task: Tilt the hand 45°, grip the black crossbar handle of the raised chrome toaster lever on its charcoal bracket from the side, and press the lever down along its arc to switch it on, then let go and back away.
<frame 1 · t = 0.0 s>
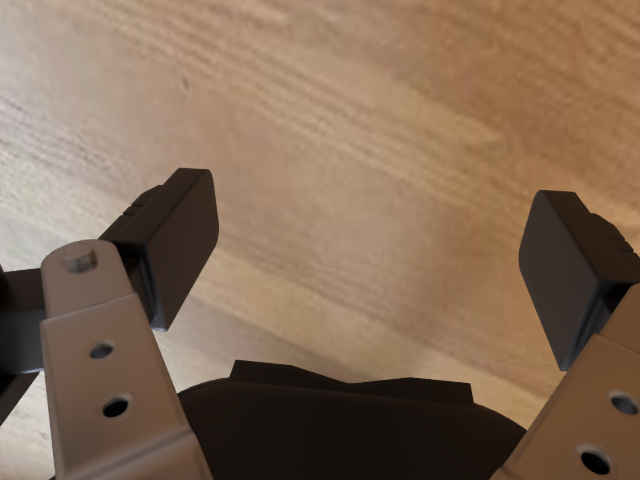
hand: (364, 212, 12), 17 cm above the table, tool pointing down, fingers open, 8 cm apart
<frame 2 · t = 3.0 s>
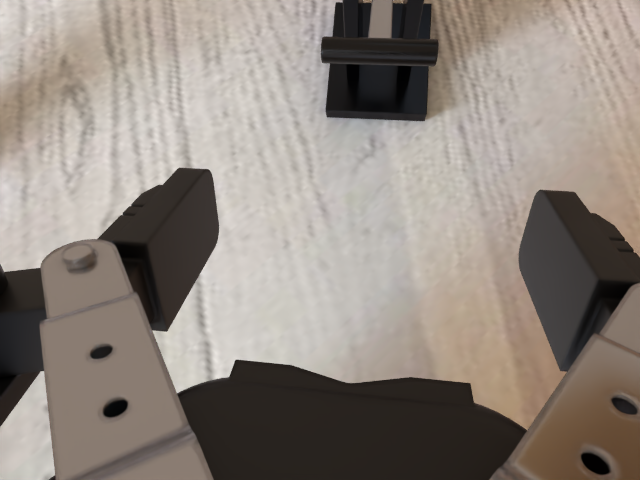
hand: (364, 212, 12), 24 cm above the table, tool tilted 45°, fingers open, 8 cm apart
toaster bracket: (378, 64, 39), on the table
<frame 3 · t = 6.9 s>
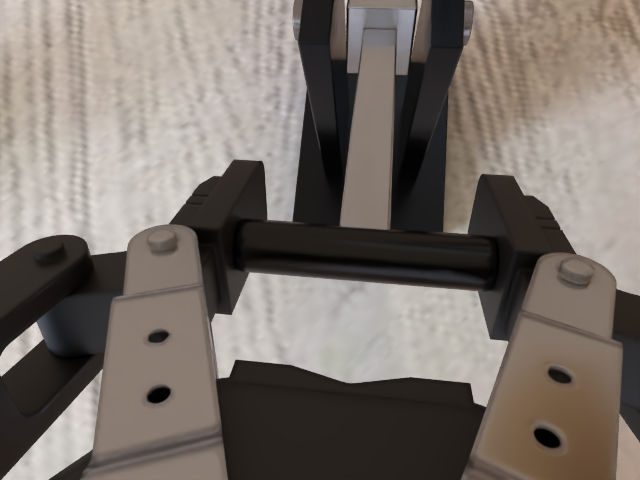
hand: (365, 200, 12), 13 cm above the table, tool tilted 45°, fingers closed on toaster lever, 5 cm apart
toaster bracket: (372, 149, 27), on the table
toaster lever: (374, 102, 13), point 13 cm above the table, hinge at 25.0°, touching gripper
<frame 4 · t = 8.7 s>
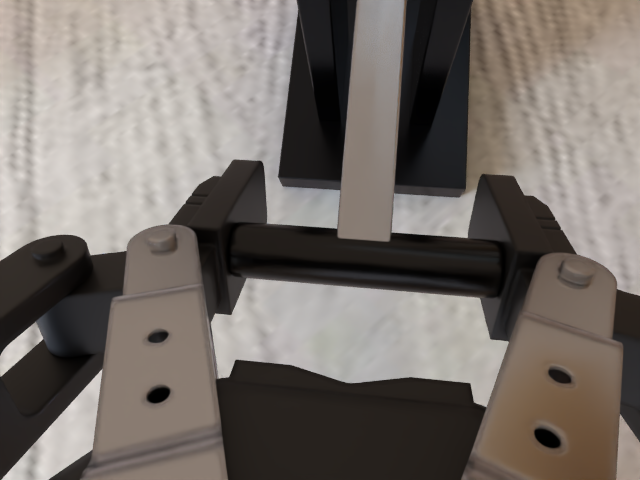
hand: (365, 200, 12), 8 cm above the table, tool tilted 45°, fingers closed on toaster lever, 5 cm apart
toaster bracket: (377, 92, 22), on the table
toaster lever: (379, 25, 11), point 11 cm above the table, hinge at -3.4°, touching gripper
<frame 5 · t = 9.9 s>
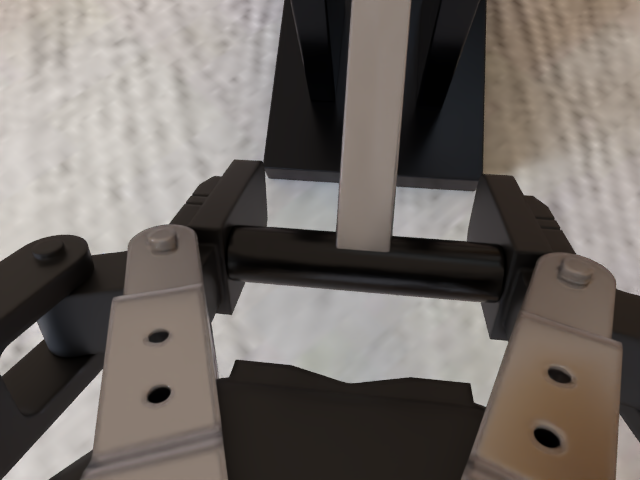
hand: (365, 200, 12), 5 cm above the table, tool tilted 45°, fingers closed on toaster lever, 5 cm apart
toaster bracket: (378, 70, 19), on the table
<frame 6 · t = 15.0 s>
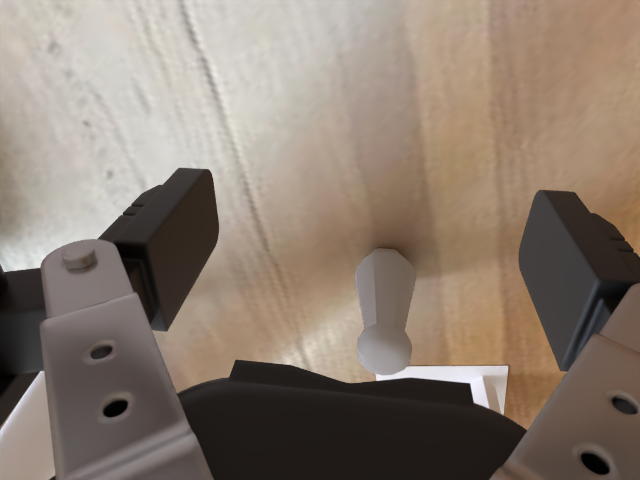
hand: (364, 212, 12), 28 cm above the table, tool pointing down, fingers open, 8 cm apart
napkin holder: (440, 397, 56), on the table
champagne flute: (137, 297, 53), on the table
salt shaker: (385, 262, 47), on the table
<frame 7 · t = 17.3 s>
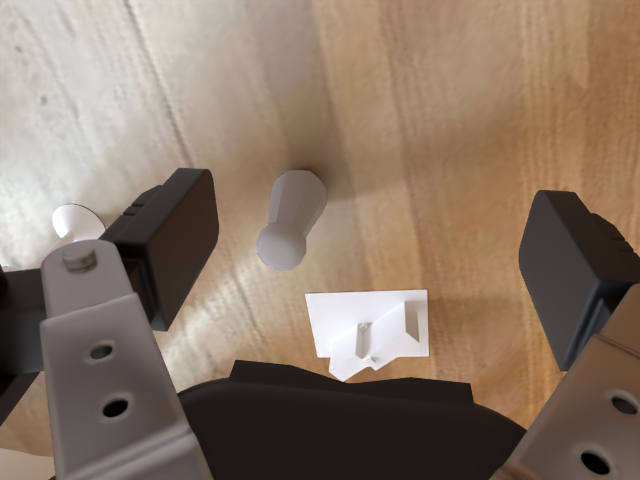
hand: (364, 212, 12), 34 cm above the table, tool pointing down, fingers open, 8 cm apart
napkin holder: (368, 324, 60), on the table
champagne flute: (80, 227, 57), on the table
salt shaker: (303, 185, 50), on the table
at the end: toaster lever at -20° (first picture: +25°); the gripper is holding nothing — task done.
